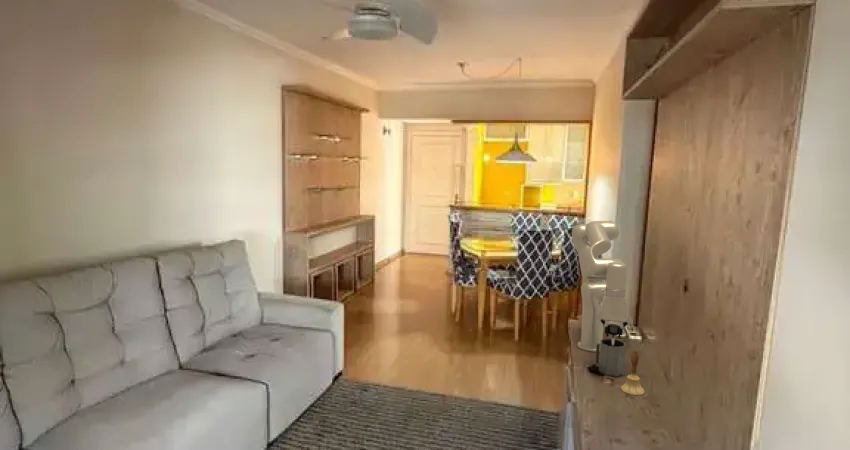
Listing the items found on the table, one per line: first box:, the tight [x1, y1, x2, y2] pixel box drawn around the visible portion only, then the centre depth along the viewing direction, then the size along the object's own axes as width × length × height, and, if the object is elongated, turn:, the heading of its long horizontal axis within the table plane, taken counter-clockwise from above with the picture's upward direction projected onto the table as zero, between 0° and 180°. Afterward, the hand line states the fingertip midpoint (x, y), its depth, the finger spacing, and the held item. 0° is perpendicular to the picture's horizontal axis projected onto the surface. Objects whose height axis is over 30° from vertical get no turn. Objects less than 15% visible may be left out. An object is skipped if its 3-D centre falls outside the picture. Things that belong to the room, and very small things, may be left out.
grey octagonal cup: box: [595, 338, 627, 378], centre depth 205 cm, size 10×11×12 cm
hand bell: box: [620, 349, 645, 396], centre depth 188 cm, size 8×8×16 cm
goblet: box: [608, 323, 620, 347], centre depth 204 cm, size 7×7×17 cm
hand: (613, 335), depth 204 cm, fingers closed on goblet, 4 cm apart
